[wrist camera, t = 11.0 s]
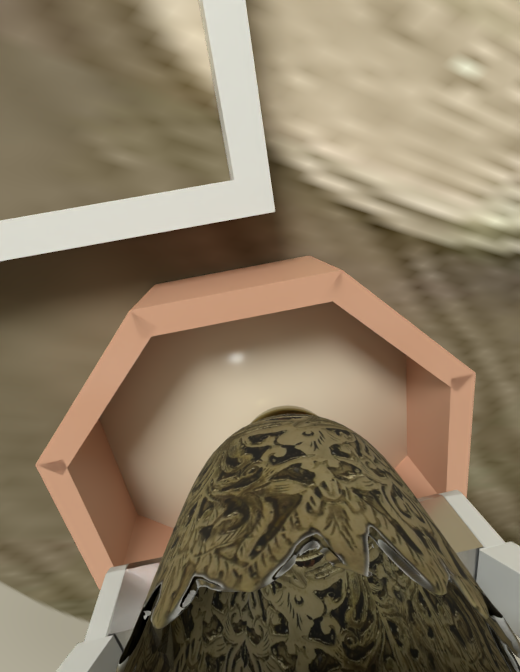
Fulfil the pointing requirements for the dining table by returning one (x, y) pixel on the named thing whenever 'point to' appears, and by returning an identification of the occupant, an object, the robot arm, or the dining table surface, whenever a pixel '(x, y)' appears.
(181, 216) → the open white square frame
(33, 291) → the dining table surface
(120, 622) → the robot arm
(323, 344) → the bowl
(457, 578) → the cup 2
